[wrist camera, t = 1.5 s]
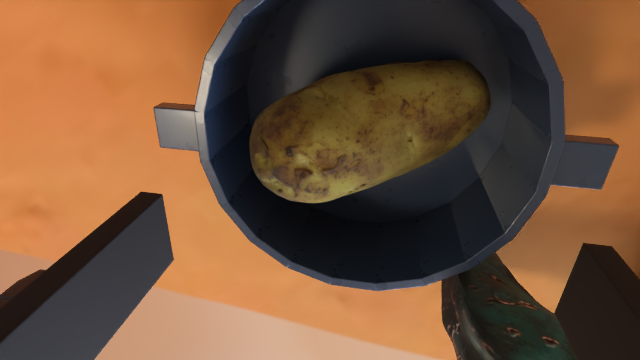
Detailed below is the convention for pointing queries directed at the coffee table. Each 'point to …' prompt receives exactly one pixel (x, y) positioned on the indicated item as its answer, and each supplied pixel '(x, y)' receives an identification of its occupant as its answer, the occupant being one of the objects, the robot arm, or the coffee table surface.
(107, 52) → the coffee table surface
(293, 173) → the potato
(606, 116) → the coffee table surface
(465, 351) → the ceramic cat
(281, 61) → the pot
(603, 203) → the coffee table surface
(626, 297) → the robot arm
